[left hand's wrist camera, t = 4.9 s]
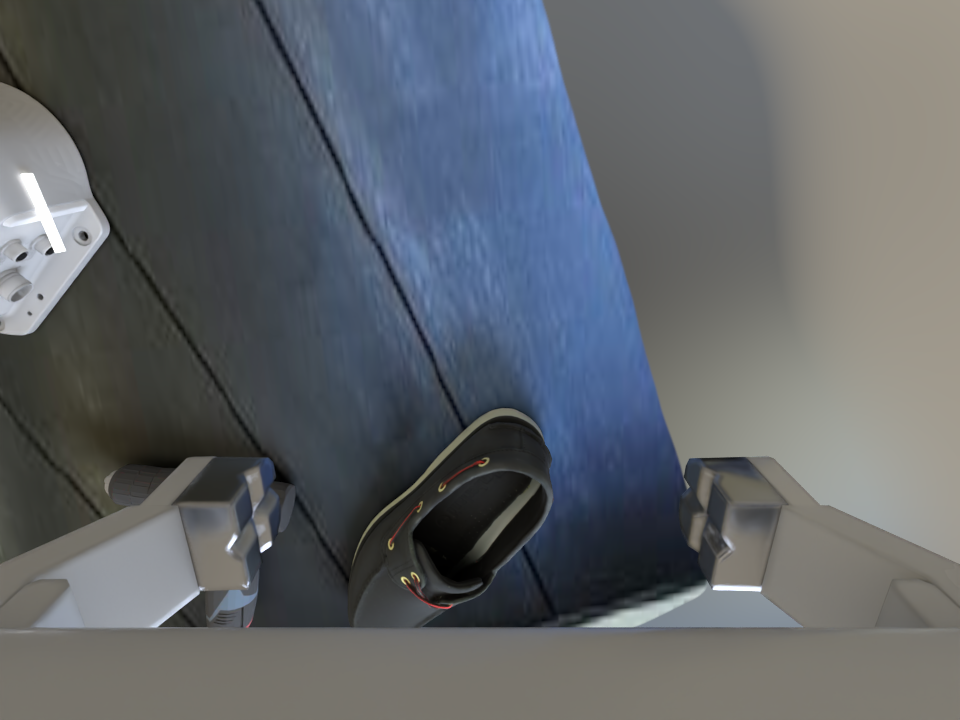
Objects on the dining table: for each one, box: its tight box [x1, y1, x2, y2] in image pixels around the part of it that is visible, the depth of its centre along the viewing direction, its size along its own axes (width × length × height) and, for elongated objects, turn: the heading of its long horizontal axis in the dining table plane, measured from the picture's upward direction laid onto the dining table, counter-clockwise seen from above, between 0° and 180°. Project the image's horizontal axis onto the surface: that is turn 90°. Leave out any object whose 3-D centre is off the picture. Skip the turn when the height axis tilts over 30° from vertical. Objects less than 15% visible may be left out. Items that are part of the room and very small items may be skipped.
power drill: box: [104, 464, 295, 628], centre depth 57 cm, size 5×19×20 cm
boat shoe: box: [348, 408, 553, 628], centre depth 54 cm, size 13×33×10 cm, turn 137°
